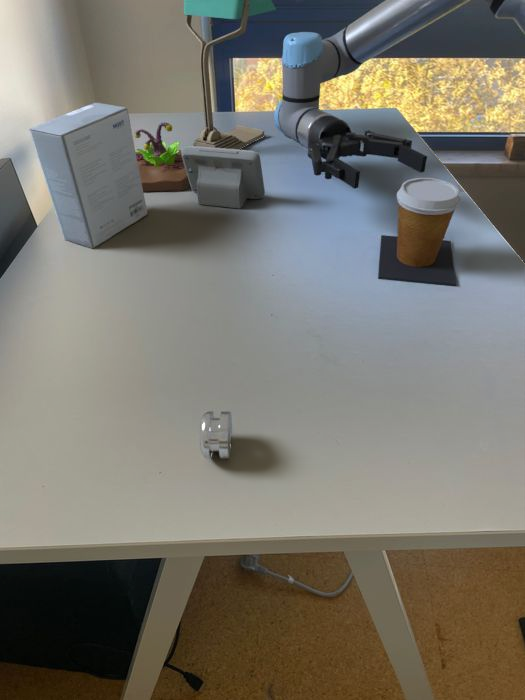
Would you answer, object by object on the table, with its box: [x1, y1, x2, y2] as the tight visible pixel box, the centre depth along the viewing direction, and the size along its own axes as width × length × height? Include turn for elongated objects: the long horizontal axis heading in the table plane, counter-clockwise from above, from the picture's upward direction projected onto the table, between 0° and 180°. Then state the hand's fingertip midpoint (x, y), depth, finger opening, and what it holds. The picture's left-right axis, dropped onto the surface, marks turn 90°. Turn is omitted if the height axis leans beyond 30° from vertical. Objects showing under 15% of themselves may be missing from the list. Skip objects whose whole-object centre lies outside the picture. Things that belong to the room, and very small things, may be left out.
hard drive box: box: [28, 102, 148, 249], centre depth 91 cm, size 16×8×20 cm, turn 150°
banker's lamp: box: [183, 0, 277, 149], centre depth 119 cm, size 16×21×35 cm
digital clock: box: [180, 145, 266, 209], centre depth 103 cm, size 16×9×11 cm, turn 63°
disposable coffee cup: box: [396, 177, 461, 267], centre depth 83 cm, size 10×10×12 cm
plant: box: [134, 121, 191, 193], centre depth 113 cm, size 20×20×11 cm
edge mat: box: [377, 234, 457, 287], centre depth 87 cm, size 12×14×1 cm
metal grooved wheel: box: [199, 410, 233, 460], centre depth 55 cm, size 5×3×5 cm, turn 178°
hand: (391, 172), depth 86 cm, fingers open, 13 cm apart
